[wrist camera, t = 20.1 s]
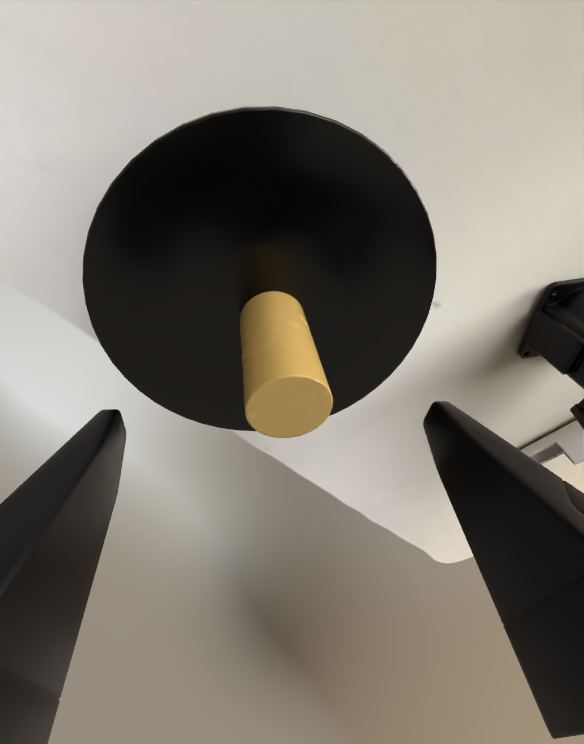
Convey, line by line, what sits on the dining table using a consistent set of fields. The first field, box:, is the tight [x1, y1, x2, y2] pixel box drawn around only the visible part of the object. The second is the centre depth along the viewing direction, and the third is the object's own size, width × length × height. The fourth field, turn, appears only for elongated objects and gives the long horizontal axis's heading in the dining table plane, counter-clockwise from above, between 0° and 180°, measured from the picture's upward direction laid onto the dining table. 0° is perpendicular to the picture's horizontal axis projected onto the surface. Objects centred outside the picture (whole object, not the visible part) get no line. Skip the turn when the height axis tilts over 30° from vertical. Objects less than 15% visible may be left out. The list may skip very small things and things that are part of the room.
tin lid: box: [83, 106, 436, 438], centre depth 12 cm, size 14×14×6 cm
